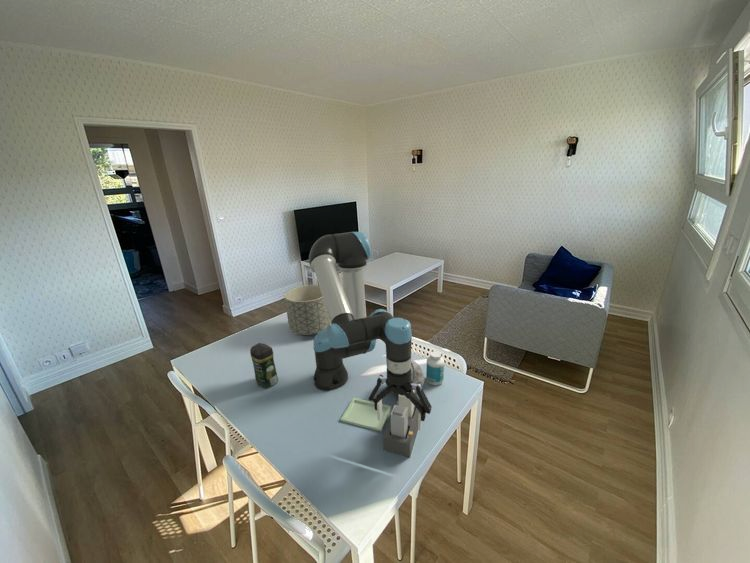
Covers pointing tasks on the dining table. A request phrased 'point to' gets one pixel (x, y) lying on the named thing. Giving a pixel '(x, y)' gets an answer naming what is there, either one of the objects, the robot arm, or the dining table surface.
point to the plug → (399, 422)
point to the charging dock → (406, 445)
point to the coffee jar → (264, 365)
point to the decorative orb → (416, 374)
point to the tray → (365, 414)
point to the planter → (306, 310)
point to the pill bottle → (435, 368)
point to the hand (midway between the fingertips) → (399, 422)
